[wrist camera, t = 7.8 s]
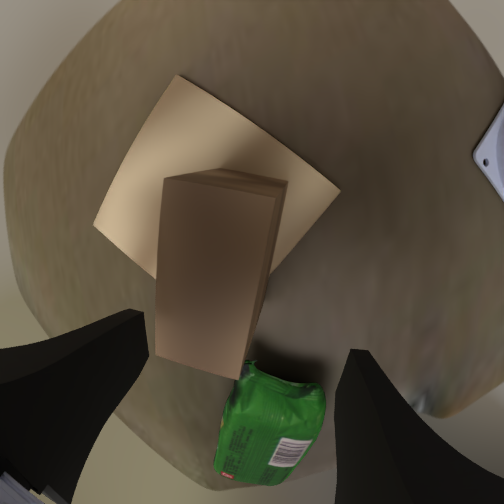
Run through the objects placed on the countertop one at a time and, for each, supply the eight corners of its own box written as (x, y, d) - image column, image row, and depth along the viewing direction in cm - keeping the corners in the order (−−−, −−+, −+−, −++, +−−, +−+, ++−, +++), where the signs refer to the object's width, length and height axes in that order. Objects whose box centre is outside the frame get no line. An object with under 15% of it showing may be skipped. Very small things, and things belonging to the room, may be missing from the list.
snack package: (340, 358, 20) (343, 410, 15) (283, 461, 25) (276, 500, 20) (245, 335, 21) (227, 383, 16) (219, 445, 26) (204, 483, 21)
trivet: (340, 190, 16) (341, 190, 16) (222, 325, 20) (221, 329, 20) (179, 76, 15) (176, 74, 15) (97, 223, 20) (93, 224, 19)
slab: (288, 180, 16) (275, 198, 9) (262, 306, 19) (238, 380, 12) (219, 168, 16) (163, 177, 10) (202, 291, 19) (155, 354, 13)
